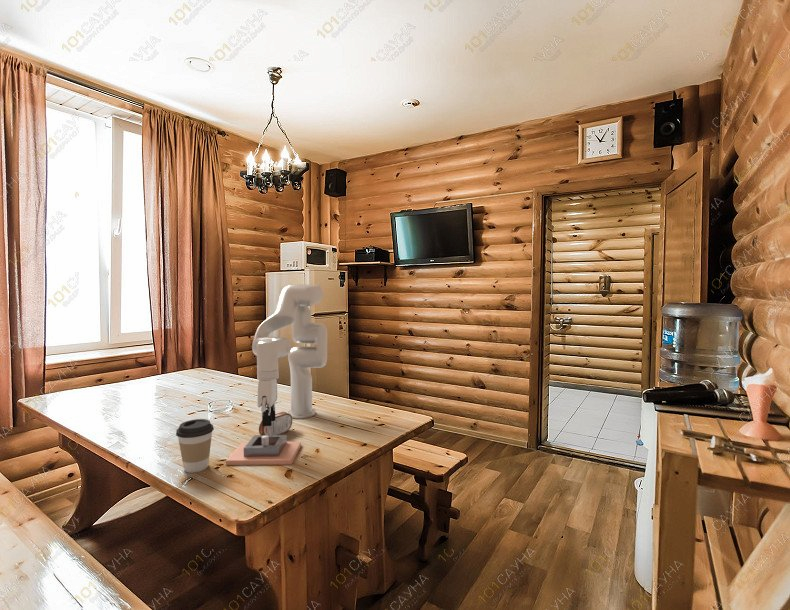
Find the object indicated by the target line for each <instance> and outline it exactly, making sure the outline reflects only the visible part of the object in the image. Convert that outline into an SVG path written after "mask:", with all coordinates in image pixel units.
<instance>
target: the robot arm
mask: <svg viewBox="0 0 790 610" xmlns="http://www.w3.org/2000/svg"><path fill="white" fill-rule="evenodd" d="M323 296H324V291H323V288H322V287H321V286H320V285H318V284H289V285H287V286H285V287H284V288H282V290H281V291H280V293H279V297H278V300H277V303H276V306H275V308H274V313H273V314H272V315H270V316H269V317H267V318H266V319H265V320H264V321H263V322H261V324H259V326H258V327H257V329H256V331H255V334H254V337H253V339H252V343H251V349H252V353H253V354H254V356H256V369H257V370H256V375H257V377H256V378H257V380H258V381H257V382H258V384H257V407H258V408H260V410H261V421H262V426H271V425H272V421H275V414H276V402H277V401H278V379H279V378H280V373H279V370H280V369H279V363H280V362H279V358H285V357H287V359H288V363H289V370H290V371H289V372H290V410H289V411H288V412H287V413H288V414H290V415H291V416H292V419H308V418H311V417H313V416H315V415H316V412H317V411H316V410H315V409H314V408H313V376H312V374H311V372H310V370H309V369H308V368H311V369H312V368H314V369H315V368H316V369H317V368H319V369H320V368H324V367H325V366H326V365H327V361H328V329H327V326H326V324H324V323H322V322H312V311H311V308H310V307H313V306H316V305H318V304H320V303H321V302H322V300H323ZM290 325H292V327H291V338H292V341H293V342H294V343H296V344H313V345H315V346H305V345H304V346H303V345H302V346H300V345H299V346H294V347H292V342H291V341H290V339H288V337H282V336H281V337H280V336H269V335H270V334H271V333H273V332H275V331H277V330H280V329H282V328H285V327H287V326H290Z"/></svg>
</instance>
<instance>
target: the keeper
mask: <svg viewBox="0 0 790 610" xmlns="http://www.w3.org/2000/svg"><path fill="white" fill-rule="evenodd" d="M248 442H249V441H241V442H240V444H238V446H237V447H236V448H235V449H234V451H233V452H232V453H231V454H230V455H229V456H228V457H227V459H226V460H225V466H233V465H234V466H238V465H240V466H242V465H243V466H249V465H250V466H253V465H254V466H255V465H257V466H258V465H259V466H262V465H269V466H270V465H272V466H273V465H277V466H278V465H292V464H293V462H294V461H295V458H296V456H297V454H298V453H299V450H300V449H301V446H302V441H287V443H286V445H285V447H284V449H283V450H282V452H281V454H280V455H279V456H271V457H244V447H245V446H246V445H247V444H248ZM258 446H274V445H269V436H262V445H258Z"/></svg>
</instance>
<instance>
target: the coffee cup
mask: <svg viewBox="0 0 790 610" xmlns="http://www.w3.org/2000/svg"><path fill="white" fill-rule="evenodd" d="M214 428H215V427H214V424H213V423H211V421H210V420H209V419H205V418H195V419H190V420H187V421H183V422H182V423H181V424H179V426H178V428H177V429H176V431H175V432H176V433H175V436H176V437H177V438H178V444H179V450H180V455H181V460H182V467H183V469H184V472H186V473H199V472H202V471H205V470H206V469H207V468H208V467H209V463H210V454H211V445H212V444H211V443H212V436H213V435H212V434H213V432H214Z"/></svg>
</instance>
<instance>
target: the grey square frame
mask: <svg viewBox="0 0 790 610" xmlns="http://www.w3.org/2000/svg"><path fill="white" fill-rule="evenodd" d="M262 436H269V445H274V446H258V445H262ZM287 436H288V435H287V434H280V435H260V434H254V435H253V436H252V437H251V438H250V440H249V441H247V442H248V444H247V445H246V446H245V447H244V457H271V456H279V455H280V454H281V452H282V450H283V449H284V447H285V445H286V443H287V442H288V440H287V439H288V437H287Z"/></svg>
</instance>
